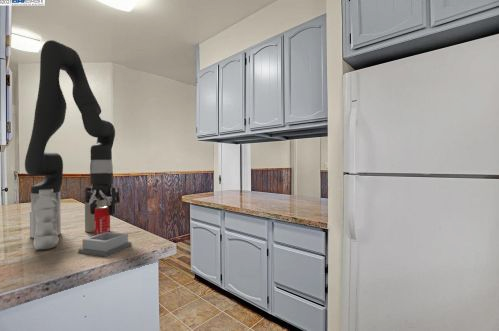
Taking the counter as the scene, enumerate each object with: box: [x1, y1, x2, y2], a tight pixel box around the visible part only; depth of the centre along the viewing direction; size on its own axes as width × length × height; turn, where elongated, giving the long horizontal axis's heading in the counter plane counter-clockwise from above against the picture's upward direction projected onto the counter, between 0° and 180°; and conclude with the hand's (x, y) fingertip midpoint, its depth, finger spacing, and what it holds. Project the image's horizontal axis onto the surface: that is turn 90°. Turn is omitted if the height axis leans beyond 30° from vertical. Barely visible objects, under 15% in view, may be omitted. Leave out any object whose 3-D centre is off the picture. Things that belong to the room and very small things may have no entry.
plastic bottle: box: [33, 189, 60, 250], centre depth 86 cm, size 6×7×20 cm
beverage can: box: [94, 205, 111, 236], centre depth 97 cm, size 5×5×12 cm
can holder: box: [78, 231, 132, 257], centre depth 86 cm, size 11×11×4 cm
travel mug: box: [84, 196, 107, 233], centre depth 110 cm, size 8×8×18 cm
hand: (102, 214), depth 97 cm, fingers open, 8 cm apart
